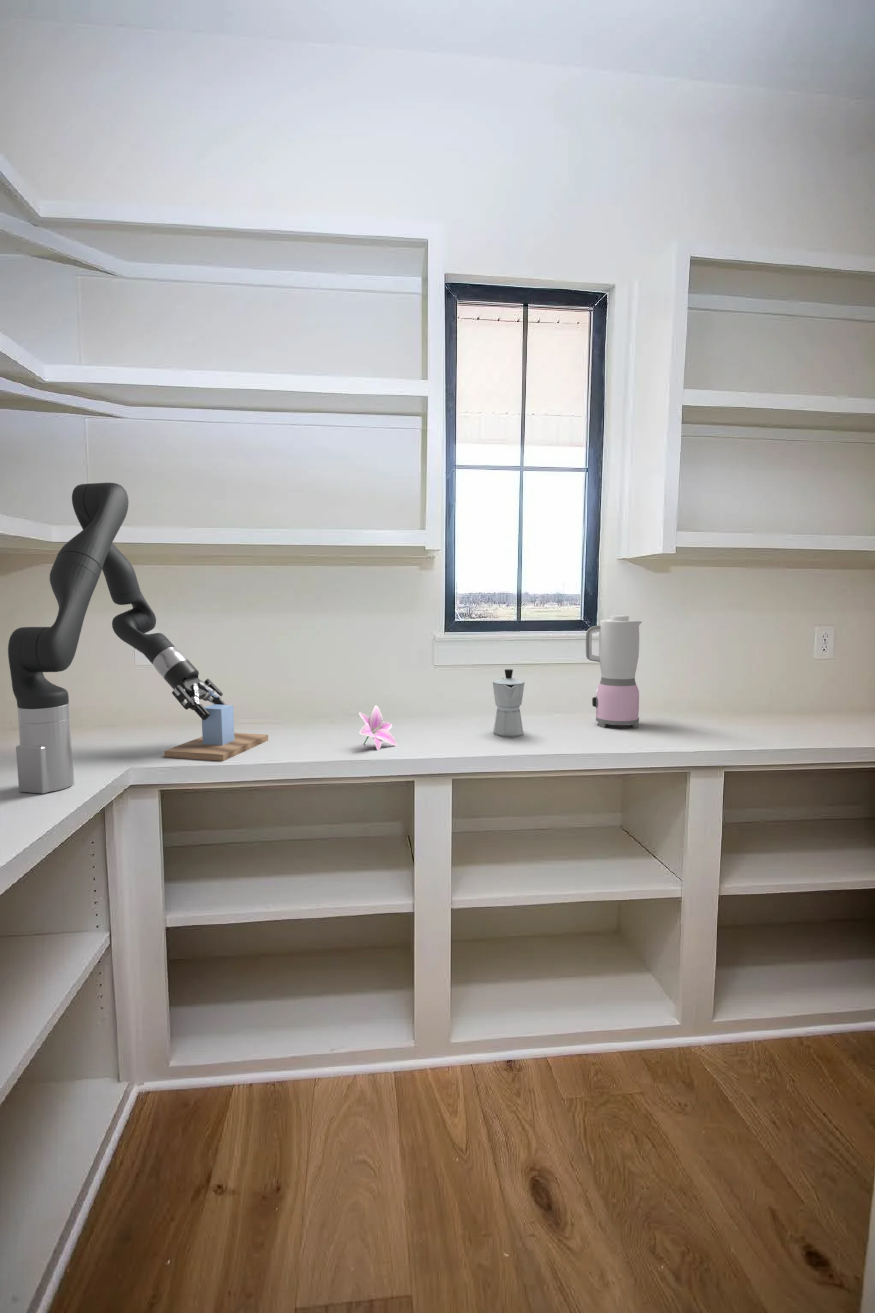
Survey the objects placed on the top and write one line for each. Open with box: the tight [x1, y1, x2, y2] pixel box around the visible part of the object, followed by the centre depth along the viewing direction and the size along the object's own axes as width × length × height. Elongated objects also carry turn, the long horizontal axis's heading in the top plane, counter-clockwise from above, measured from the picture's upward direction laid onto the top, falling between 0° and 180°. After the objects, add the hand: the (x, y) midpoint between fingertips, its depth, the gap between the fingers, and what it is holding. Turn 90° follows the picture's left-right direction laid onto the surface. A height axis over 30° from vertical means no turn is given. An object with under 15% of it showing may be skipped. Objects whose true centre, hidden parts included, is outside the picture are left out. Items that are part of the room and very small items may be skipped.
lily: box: [358, 704, 398, 751], centre depth 177 cm, size 12×12×10 cm
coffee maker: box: [492, 668, 526, 738], centre depth 191 cm, size 15×9×18 cm, turn 0°
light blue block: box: [201, 703, 235, 745], centre depth 175 cm, size 6×6×9 cm
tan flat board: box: [163, 732, 269, 762], centre depth 175 cm, size 22×16×8 cm
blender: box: [585, 614, 643, 729], centre depth 200 cm, size 16×12×32 cm
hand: (217, 714), depth 174 cm, fingers open, 8 cm apart
